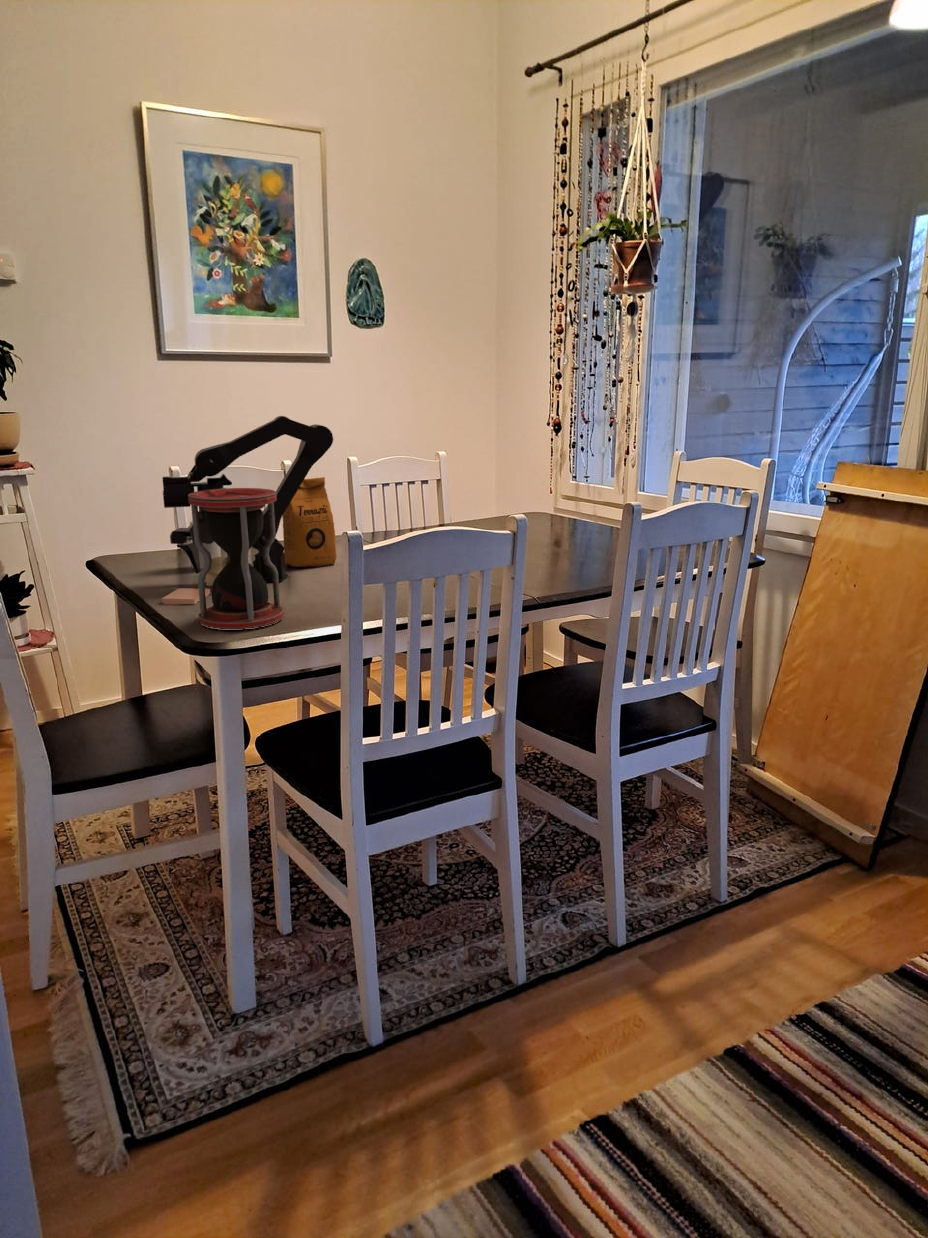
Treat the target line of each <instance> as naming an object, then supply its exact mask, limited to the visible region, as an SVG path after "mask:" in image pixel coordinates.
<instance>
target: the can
mask: <svg viewBox="0 0 928 1238" xmlns="http://www.w3.org/2000/svg"><path fill="white" fill-rule="evenodd" d="M192 526H193V520H191V521H189V525H188V527H187V528H191V527H192ZM202 544H203V546H204V548H206V549H207V550H208V551H209V552H210V555H211V556H212V557H222V552H221V550H222V548H220V547H219V546H218V545H217V544H216V543H215V542H213V543H211V544H206V543H202ZM199 559H200V572H202V571H203V569H204V563H205V562H204V557H203V553H202V552H201V551H200V550H199ZM189 563H190V567H191V568H193V569H194V567H193V565H192V563H191V561H190V560H189Z"/></svg>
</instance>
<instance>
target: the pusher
mask: <svg viewBox="0 0 928 1238" xmlns="http://www.w3.org/2000/svg"><path fill="white" fill-rule="evenodd" d="M211 558H212V564H211V569H210V570H209V572H208V573H207V574H206V577H205V583H206V586H209V587H212V585H213V582H214V580H215V578H216V577H217V575H218V574H219V573H220V571H221V570H222V569H223V568H224V567H225V566H226V565H227V556H221V557H212V556H211ZM204 562H205V560H204Z"/></svg>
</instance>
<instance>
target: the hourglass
mask: <svg viewBox="0 0 928 1238" xmlns="http://www.w3.org/2000/svg"><path fill="white" fill-rule="evenodd" d="M188 500H189V504H190V507H191V519H192V520H191V521H193V532H194V542H195V544H196V547H197V548H198V549H199V550H200V551H201V552H202V553H203V557H204V560H205V563H204V569H203V571H200V572H199V576H198V578H197V586H198V588H197V589H199V599H200V602H199V607H200V612H199V614H198V621H200V622H199V624H200V623H201V624H203V625H205V626H208V627H213V628H220V629H245V628H254V627H261V626H265V625H269V624H273V623H275V622H277V621H279V620H281V619H282V620H283V619H284V617H285V615H284V614H285V612H284V609H283V607H282V606H281V602H280V601H281V600H280V584H279V583H280V582H279V581H278V571H277V569H276V567H275V566H274V565H273V564H272V563H271V561H270V557H269V550H270V546H271V545H272V543H273V542H274V539H275V538H276V537H277V534H276V533H275V517H274V502H275V501H276V500H277V496H276V490H273V489H269V488H257V487H254V488H253V487H232V488H231V487H229V488H228V487H224V488H221V489H211V490H203V491H197V490H196V491H194V492H192V493H190V494H188ZM266 505H268V515H269V531H270V535H269V538H268V541H267V543H266V544H265V545H264V547H263V551H262V557H263V560H264V563H265V564H266V565H267V566H268V567H269V568H270V570H271V572H272V577H273V582H272V589H273V603H271V602H269V599H270V598H269V597H270V596H269V589H268V585H267V584H268V583H267V582H265V580H264V578H263V577H262V575H261V574H260V573H259V572H258V571H257V570H256V569H255V568H254V567H253V565H252V564H251V563H250V562H249V551H250V549H251V548H252V546H253V545H254V544H255V542H256V541H257V540H258V538H259V537H260V535H261V532H262V530H263V512H262V511H263V508H264V507H265V508H266ZM199 507H202V509H203V510H205V511H206V513H205V523H206V527H207V531H208V533H209V535H210V537H211V538H212V540H213V541H214V542H215V543H216V544H217V545H218V546H219V547H220V548H221V550H223V551H224V552H225V553H226V557H227V565H226V566H225V567H224V568H223V569H222V570H221V571H220V573H219V574H218V575H217V577H216V578H215V580H214V582H213V585H212V586H211V602H212V606H209V607H208V608H207V597H205V589H206V587H205V581H206V574H207V573H208V572H209V570H210V569H211V564H212V558H211V555H210V552H209V551H208V550H207V549H206V548H204V546H203V544H202V542H201V539H200V527H199V516H198V511H199ZM275 536H276V537H275Z"/></svg>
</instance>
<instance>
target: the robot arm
mask: <svg viewBox="0 0 928 1238" xmlns="http://www.w3.org/2000/svg"><path fill="white" fill-rule="evenodd" d="M284 435H286V436H289V437H291V438H295V439H298V440H300V442H299V447H298V451H297V454H296V456H295V458H294V460H293V461H292V463H291V465H290V467H288V468H289V469H287V471H286V474H285V475H284V477H283V478H282V480H281V482H280V484H279V485H278V487H277V489H276V490H275V492H276V496H277V500H276V501H275V502H274V517H275V533H276V536H275V539H274V542H273V543H272V545H271V546H270V550H269V557H270V561H271V563H272V564H273V565H274V566H275V567H276V569H277V571H278V581H279V583H281V582H283V581H285V580H286V579H287V578H288V577H289V574H287V572H286V571H287V569H286V563H285V552H284V545H283V544H282V543H281V541H280V540H279V539H277V538H276V537H277V534H278V531H279V527H280V523H281V520H282V516H283V514H284V512H285V510H286V509H287V507H288V505H289V504H290V502H291V500H292V499H293V497H294V495H295V494H296V492H297V490H298V489H299V487H300V485H301V484H302V482H303V480H304V479H306V477H307V475H308V473H309V472H310V470H311V468H312V467H313V466H314V464H316V463H317V462H318V461H319V460H320V459H321V458H322V457H323V456H324V455H325V454H326V452H328V450H329V449H330V448H331V447H332V445H333V443H334V435H333V433H332V431H331V429H329V428H328V427H327V426H324V425H321V424H316V423H315V424H311V425H307V424H304V423H301V422H300V421H296V420H293V419H291V418H289V417H287V416H284V415H278V416H276V417H275V418H273V420H270V421H268V422H267V423H264V424H263V425H261V426H258V427H256V428H255V429H252V430H251V431H248V432H247V433H244V434H242V435H241V436H238V437H236V438H234V439H233V440H230V441H227V442H224V443H218V444H215V445H212V446H208V447H205V448H201V449H200V450H198V451H197V453H195V456H194V465H193V467H192V468H191V470H190V471H188V474H187V476H162V489H163V490H162V497H163V506H164V507H163V508H164V509H171V508H190V507H191V505H190V504H189V500H188V494H190V493H192V492H195V487H196V492H197V491H203V490H211V489H221V488H225V487H224V486H232V484H233V483H232V481H231V480H230V479H229V478H228V477H227V476H226V474H225V473H222V474H221V475H220V476H219V477H215V476H217V475H218V474H219V473H221V472H222V471H224V470H225V469H226V468H228V467H229V466H230V465H231V464H232V463H234V461H236V460H237V459H239V458H240V457H243V456H244V455H246V454H248V453H250V452H252V451H254V450H255V449H258V448H260V447H262V446H264V445H266V444H268V443H270V442H272V441H274V440H275V439H278V438H280V437H282V436H284ZM205 478H206V481H202V480H203V479H205ZM201 481H202V482H201ZM262 512H263V530H262V532H261V535H260V537H259V538H258V540H257V541H256V542H255V544H254V545H253V546H252V547H253V548H254V550H256V551H258V552H256V553H255V554H254V560H252V564H253V565H252V566H253V567H254V568H255V569H256V570H257V571H258V572H259V573H260V574H261V575H262V577H263V578H264V580H265V582H266V583H273V577H272V572H271V570H270V568H269V567H268V566H267V565H266V564H265V563H264V560H263V557H262V551H263V547H264V545H265V544H266V543H267V541H268V538H269V535H270V531H269V515H268V504H266V506H265V508H264V509H262ZM205 513H206V511H205V510H203V509H202V507H199V506H198V516H199V527H200V539H201V542H202V543H206V544H211V543H213V542H214V541H213V540H212V538H211V537H210V535H209V533H208V531H207V527H206V523H205ZM169 540H170V544H171V545H176V547H177V548H181V549H182V550H183V551H184V552H185V554H186V555H187V556H188V558H189V562H190V561H191V562H190V564H191V563H192V565H193V567H194V568H193V567H192V568H193V570H194V571H195V573H196V574H200V573H201V571H200V559H199V549H198V548H197V547H196V544H195V542H194V532H193V526H192V527H191V528H188V527H179V528H177V529H174V530H172V531H171V532H170V535H169ZM252 547H251V548H252Z"/></svg>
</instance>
